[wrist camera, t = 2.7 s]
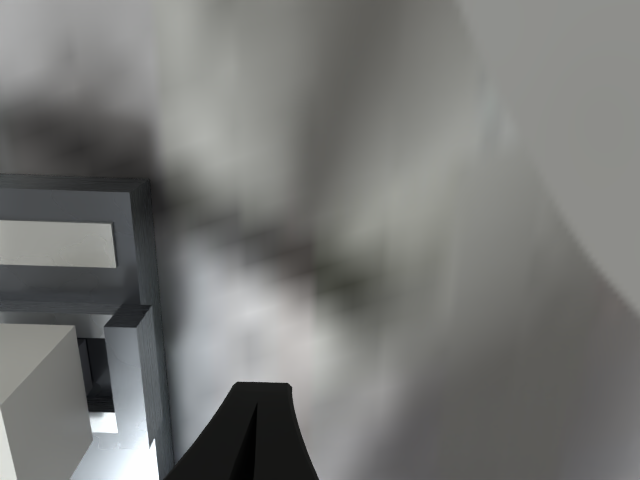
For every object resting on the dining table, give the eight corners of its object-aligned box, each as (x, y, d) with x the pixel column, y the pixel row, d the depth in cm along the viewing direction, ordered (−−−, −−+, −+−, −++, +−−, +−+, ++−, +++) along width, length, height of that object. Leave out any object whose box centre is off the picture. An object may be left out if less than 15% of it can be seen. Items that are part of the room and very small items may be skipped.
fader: (91, 307, 13) (-1, 406, 9) (107, 416, 14) (32, 542, 10) (0, 304, 13) (-130, 403, 9) (24, 414, 14) (-82, 541, 10)
